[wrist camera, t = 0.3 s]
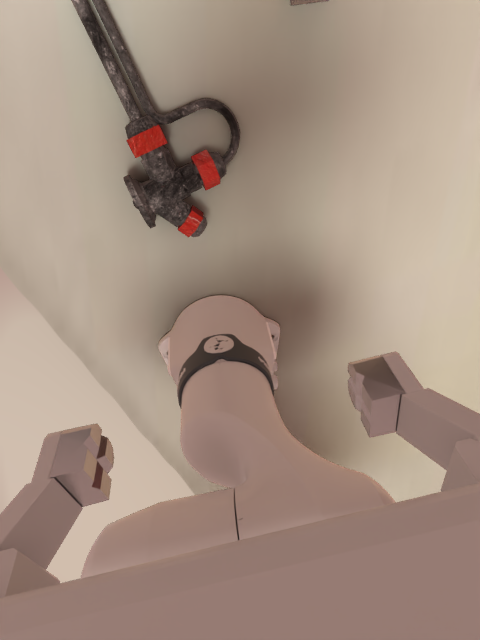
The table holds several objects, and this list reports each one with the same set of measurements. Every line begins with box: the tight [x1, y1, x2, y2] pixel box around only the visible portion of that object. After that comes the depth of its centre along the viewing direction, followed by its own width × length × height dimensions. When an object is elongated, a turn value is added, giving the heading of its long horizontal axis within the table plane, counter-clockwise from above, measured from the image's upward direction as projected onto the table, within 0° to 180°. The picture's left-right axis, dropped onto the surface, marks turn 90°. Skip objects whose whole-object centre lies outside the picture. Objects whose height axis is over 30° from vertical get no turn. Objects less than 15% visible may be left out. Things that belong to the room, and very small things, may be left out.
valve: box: [71, 0, 240, 237], centre depth 43 cm, size 6×26×15 cm
